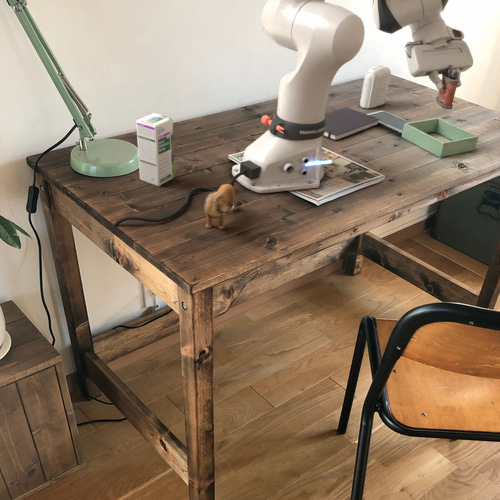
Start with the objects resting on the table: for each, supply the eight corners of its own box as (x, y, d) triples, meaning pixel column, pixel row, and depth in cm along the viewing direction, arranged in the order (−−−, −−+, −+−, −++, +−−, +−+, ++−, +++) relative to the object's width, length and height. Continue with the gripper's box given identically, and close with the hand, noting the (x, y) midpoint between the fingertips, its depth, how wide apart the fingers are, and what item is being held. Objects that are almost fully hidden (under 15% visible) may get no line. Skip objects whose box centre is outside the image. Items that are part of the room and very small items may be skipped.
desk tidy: (440, 157, 152) (443, 143, 150) (401, 136, 163) (404, 123, 161) (474, 150, 158) (478, 136, 156) (435, 130, 169) (438, 117, 167)
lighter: (454, 109, 150) (464, 71, 145) (441, 108, 150) (451, 70, 145) (445, 99, 157) (455, 62, 152) (433, 98, 157) (442, 61, 152)
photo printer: (376, 100, 189) (383, 62, 182) (386, 103, 187) (394, 65, 180) (357, 106, 183) (363, 67, 176) (368, 110, 180) (375, 70, 174)
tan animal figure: (226, 240, 112) (228, 199, 107) (199, 236, 112) (200, 195, 107) (239, 204, 124) (241, 166, 119) (215, 201, 125) (216, 163, 120)
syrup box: (158, 187, 129) (157, 125, 121) (138, 179, 131) (135, 118, 123) (174, 178, 133) (173, 118, 125) (154, 171, 135) (152, 111, 127)
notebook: (345, 111, 178) (300, 127, 165) (346, 107, 177) (301, 121, 164) (379, 124, 171) (335, 140, 158) (380, 119, 170) (336, 135, 157)
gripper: (410, 35, 145) (429, 85, 143) (467, 31, 154) (485, 78, 152) (395, 49, 151) (412, 97, 149) (450, 44, 160) (467, 89, 158)
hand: (449, 87), depth 151 cm, fingers closed on lighter, 4 cm apart
